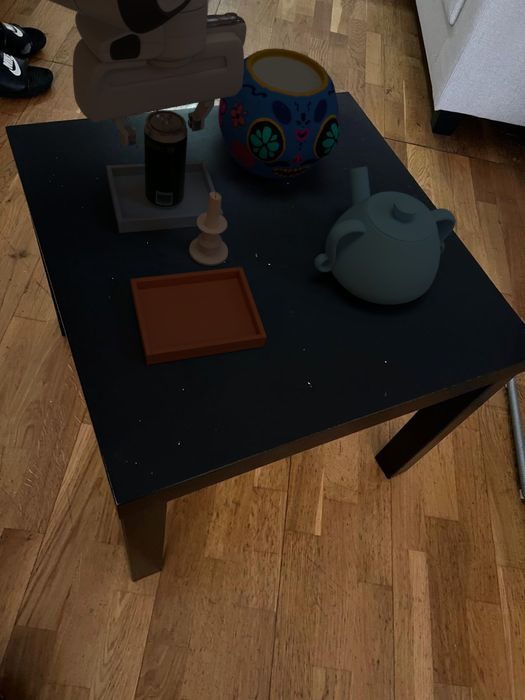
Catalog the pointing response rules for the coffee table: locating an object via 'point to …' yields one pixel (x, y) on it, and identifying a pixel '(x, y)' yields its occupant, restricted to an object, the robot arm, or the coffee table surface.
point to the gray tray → (145, 217)
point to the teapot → (385, 244)
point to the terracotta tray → (196, 314)
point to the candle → (210, 235)
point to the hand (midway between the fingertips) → (162, 135)
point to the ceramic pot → (280, 115)
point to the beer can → (165, 158)
